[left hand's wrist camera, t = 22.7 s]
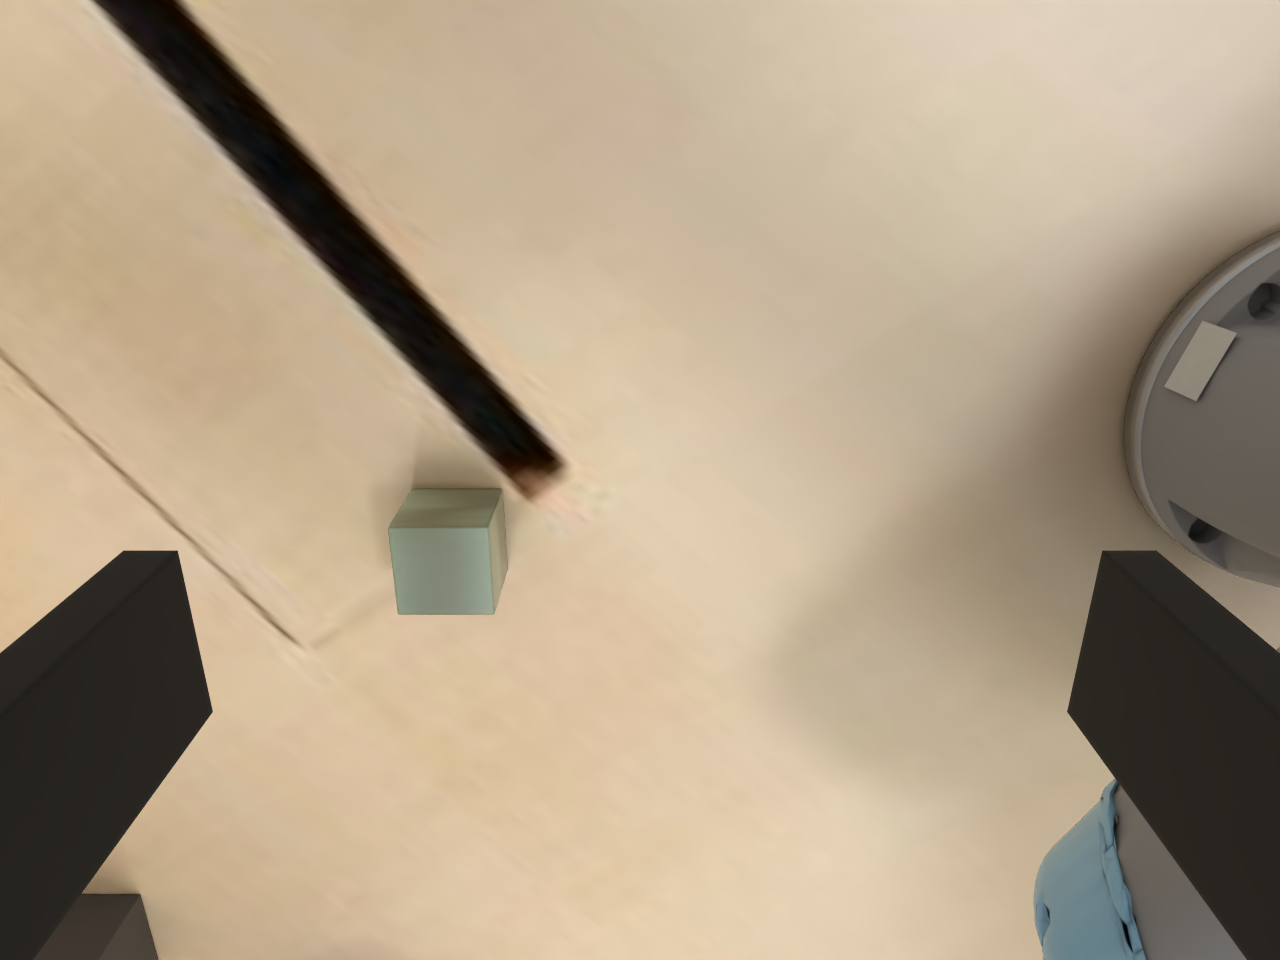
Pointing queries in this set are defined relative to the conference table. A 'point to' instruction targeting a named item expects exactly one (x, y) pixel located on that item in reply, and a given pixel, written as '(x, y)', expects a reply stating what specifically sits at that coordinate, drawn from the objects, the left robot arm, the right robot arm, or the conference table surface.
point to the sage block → (449, 552)
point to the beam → (101, 931)
